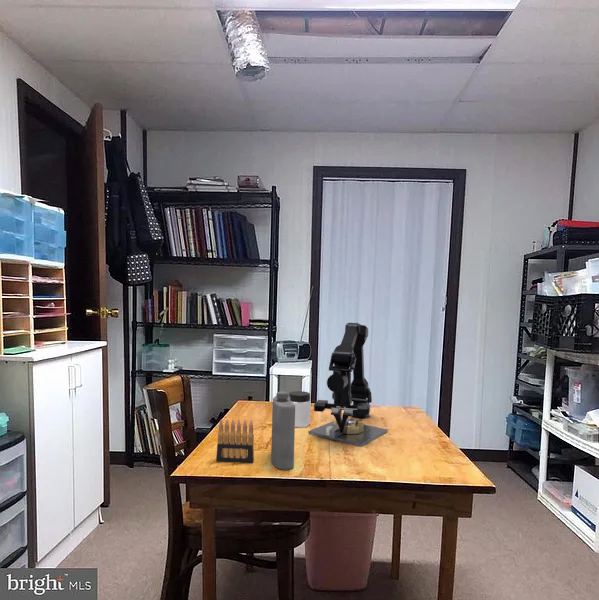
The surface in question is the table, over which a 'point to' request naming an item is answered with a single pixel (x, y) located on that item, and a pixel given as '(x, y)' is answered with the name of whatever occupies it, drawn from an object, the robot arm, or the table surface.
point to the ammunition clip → (236, 450)
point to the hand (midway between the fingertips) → (341, 432)
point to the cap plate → (354, 439)
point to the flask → (283, 431)
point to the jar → (301, 407)
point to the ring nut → (347, 429)
